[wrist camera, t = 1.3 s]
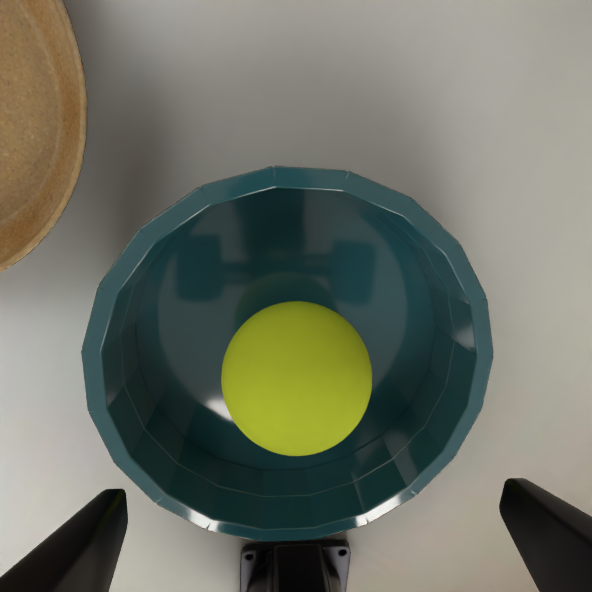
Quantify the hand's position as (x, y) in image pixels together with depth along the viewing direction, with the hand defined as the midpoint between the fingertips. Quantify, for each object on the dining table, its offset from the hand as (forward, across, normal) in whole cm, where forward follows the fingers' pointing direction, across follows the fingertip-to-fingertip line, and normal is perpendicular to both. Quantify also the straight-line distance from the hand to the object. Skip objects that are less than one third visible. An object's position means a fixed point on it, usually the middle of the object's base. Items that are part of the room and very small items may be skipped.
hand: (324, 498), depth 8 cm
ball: (+9, 0, 0) cm, 9 cm away
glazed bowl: (+10, 0, 0) cm, 10 cm away
